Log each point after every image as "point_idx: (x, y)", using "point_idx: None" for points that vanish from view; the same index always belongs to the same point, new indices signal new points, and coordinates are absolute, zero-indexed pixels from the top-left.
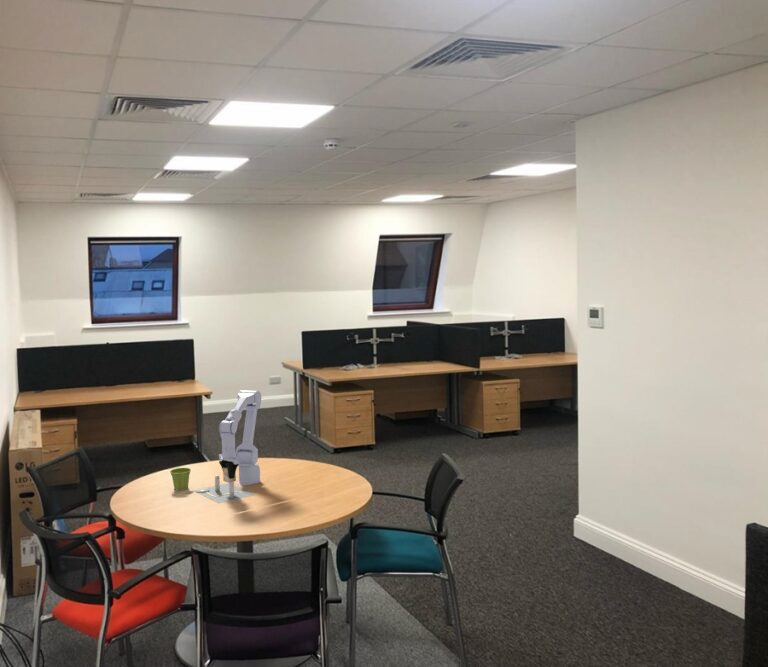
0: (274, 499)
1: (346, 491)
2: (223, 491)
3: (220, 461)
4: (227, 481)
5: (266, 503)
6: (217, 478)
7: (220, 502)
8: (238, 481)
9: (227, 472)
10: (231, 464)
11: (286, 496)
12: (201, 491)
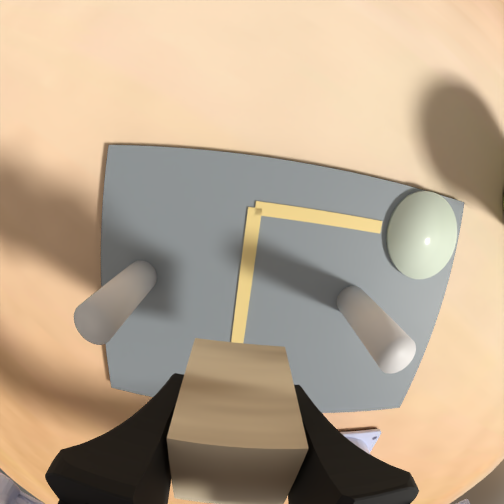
0: (33, 384)
1: (39, 488)
2: (309, 320)
3: (391, 501)
4: (199, 344)
5: (4, 330)
6: (374, 339)
7: (110, 161)
8: (374, 442)
9: (176, 406)
10: (57, 489)
11: (50, 426)
12: (411, 210)
